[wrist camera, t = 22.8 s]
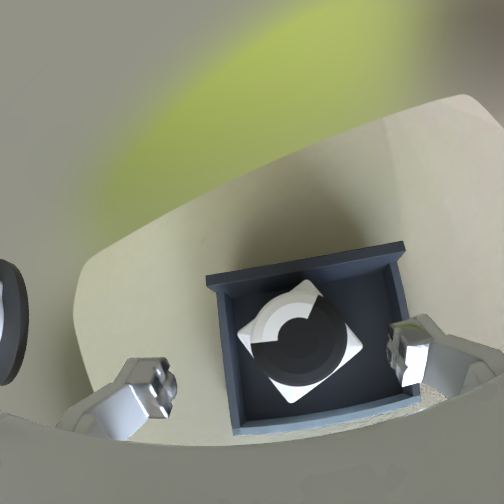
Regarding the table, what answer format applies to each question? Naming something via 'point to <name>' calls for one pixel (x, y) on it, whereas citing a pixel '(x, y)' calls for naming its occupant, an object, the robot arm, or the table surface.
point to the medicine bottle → (299, 340)
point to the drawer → (356, 318)
